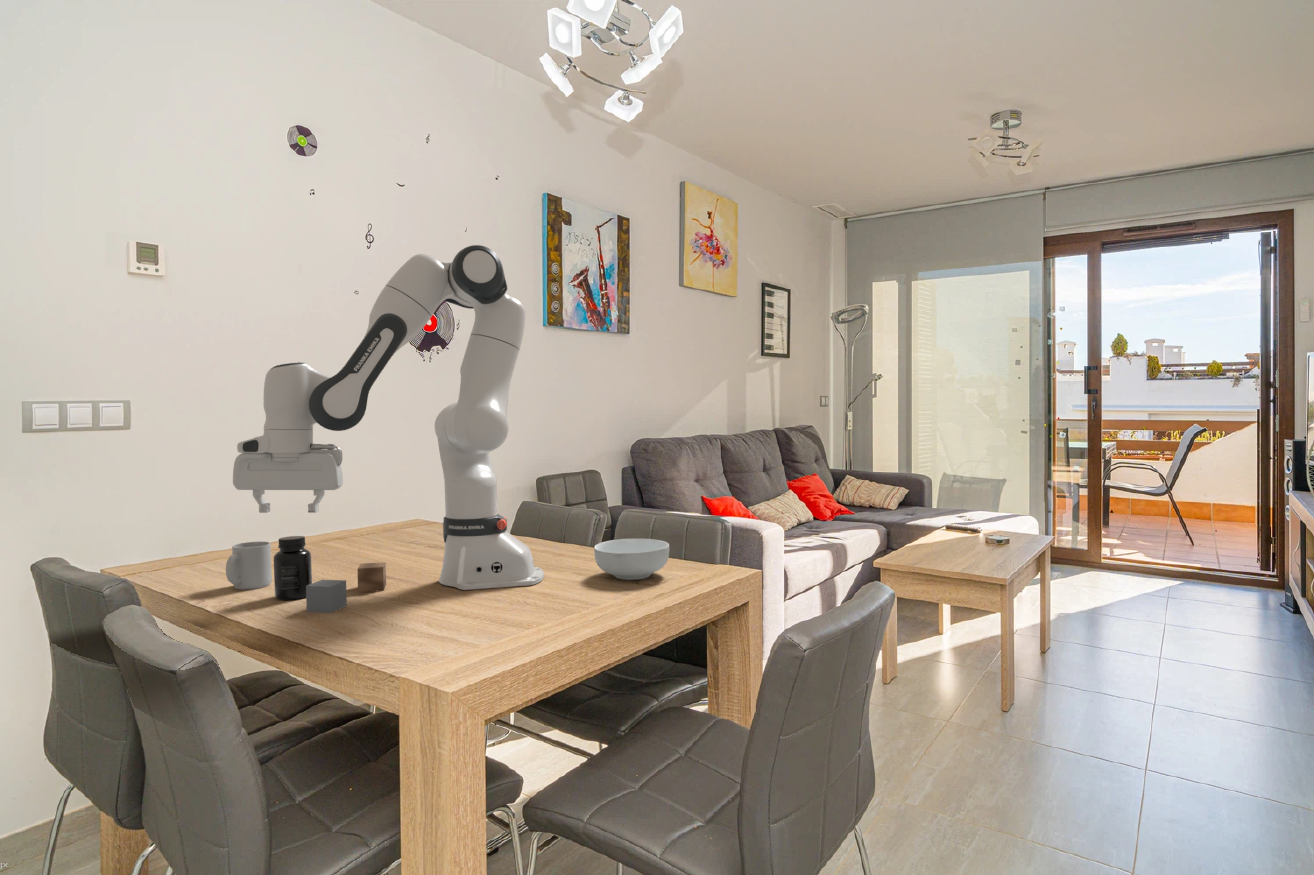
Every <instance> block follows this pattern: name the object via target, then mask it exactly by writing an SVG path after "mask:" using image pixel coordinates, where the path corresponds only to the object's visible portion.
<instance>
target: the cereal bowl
mask: <svg viewBox="0 0 1314 875" xmlns="http://www.w3.org/2000/svg"><path fill="white" fill-rule="evenodd" d="M593 552H594V560H595V563H596V565H597V566H598V567H599V569H601V571H603V572H604V573H607V574H609V575H612V576H614V577H615V578H617V579H619V580H623V581H624V580H627V581H638V580H643V579H647V578H649V577H650V576H651V575H652V574H654V573H655V572H658V571H660V570H661V569H662V568H664V566H666V564H667V563H668V560H669V559H670V558H669V557H670V543H668V542H667V541H664V540H660V539H652V538H621V539H612V540H607V541H603V542H598V544H597V543H596V544H595V545H594V549H593Z"/></svg>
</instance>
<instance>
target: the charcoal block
mask: <svg viewBox="0 0 1314 875" xmlns="http://www.w3.org/2000/svg"><path fill="white" fill-rule="evenodd" d="M305 598H306V612H307V613H324V614H326V613H327V614H332V613H334V612H336V611H338V610H340V609H342V608H345V607H347V606H348V605H347V604H348V602H347V601H348V599H347V580H345V579H343V580H342V579H320V580H317V581H315V582H312V584H310V585H307V586H306V597H305Z"/></svg>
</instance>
